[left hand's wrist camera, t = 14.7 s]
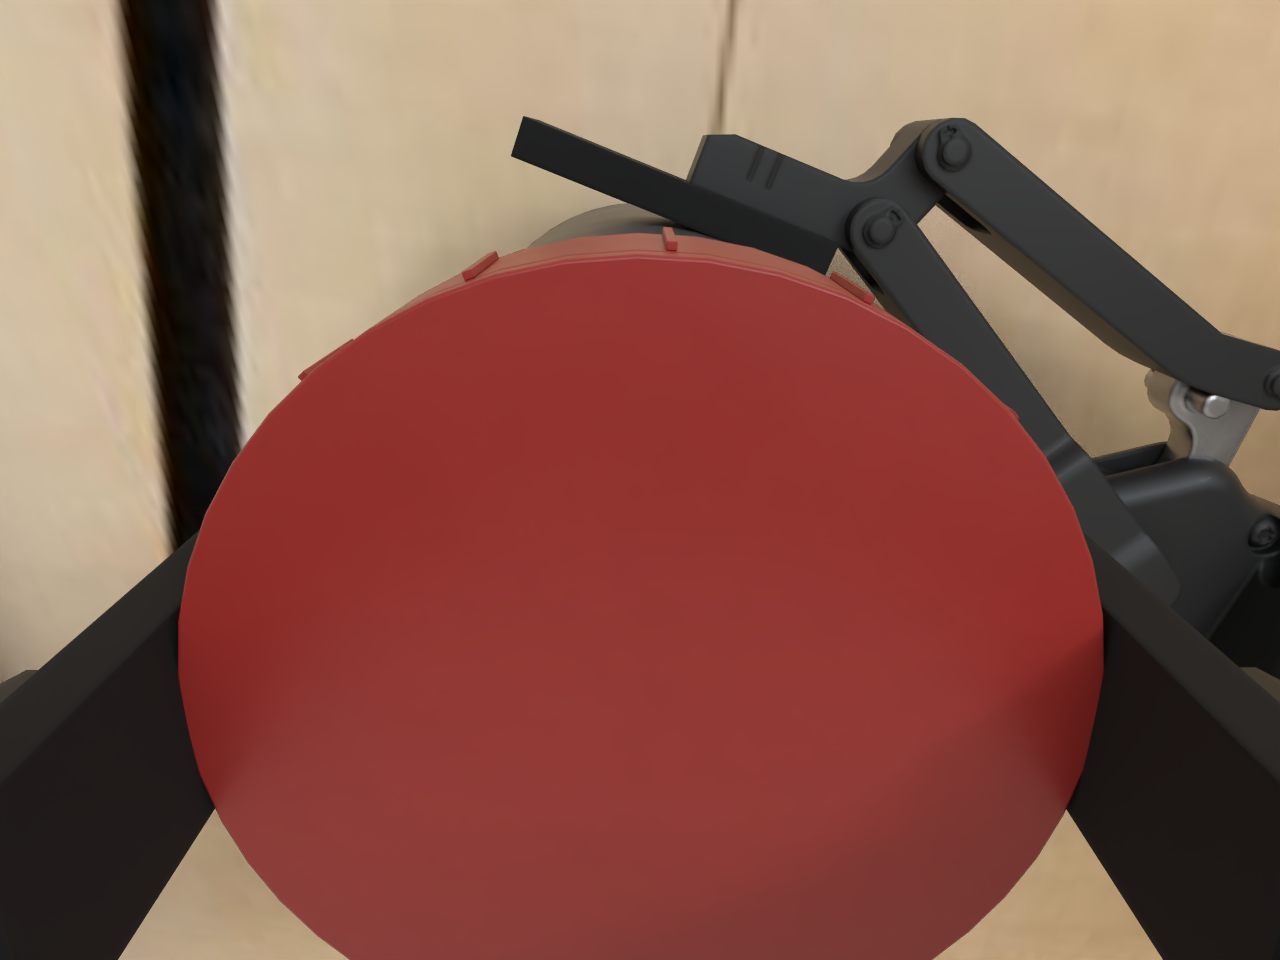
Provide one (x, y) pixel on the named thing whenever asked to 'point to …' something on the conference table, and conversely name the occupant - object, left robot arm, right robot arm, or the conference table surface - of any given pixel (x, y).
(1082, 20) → the conference table surface
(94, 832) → the left robot arm
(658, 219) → the jar
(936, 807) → the lid
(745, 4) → the conference table surface
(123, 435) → the conference table surface
